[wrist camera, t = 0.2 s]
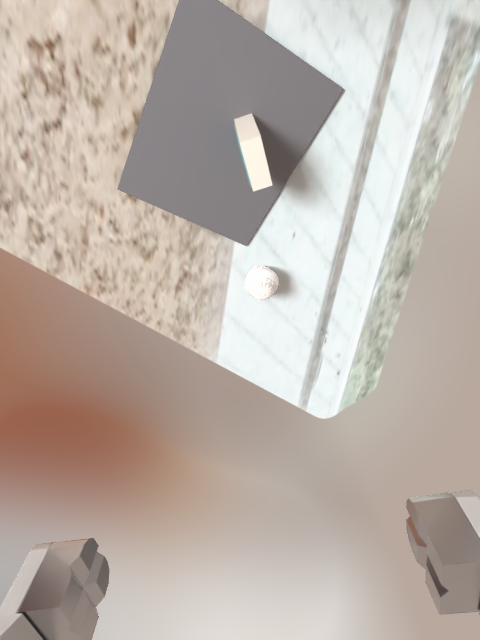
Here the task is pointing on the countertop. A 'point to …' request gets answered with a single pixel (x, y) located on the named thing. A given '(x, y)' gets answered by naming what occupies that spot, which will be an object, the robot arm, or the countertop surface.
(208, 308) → the countertop surface
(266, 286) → the muffin
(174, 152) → the mat
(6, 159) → the countertop surface
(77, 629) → the robot arm
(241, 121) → the card box
